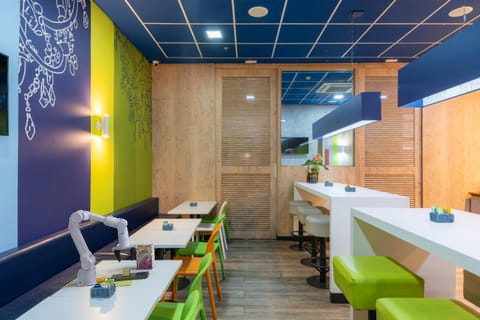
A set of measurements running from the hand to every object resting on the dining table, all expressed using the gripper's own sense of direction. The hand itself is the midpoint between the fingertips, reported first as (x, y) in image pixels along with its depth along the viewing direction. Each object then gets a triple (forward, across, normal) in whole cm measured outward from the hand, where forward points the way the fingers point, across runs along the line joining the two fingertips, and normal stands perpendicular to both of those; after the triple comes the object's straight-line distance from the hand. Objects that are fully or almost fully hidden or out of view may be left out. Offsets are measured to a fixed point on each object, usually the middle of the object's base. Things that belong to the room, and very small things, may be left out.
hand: (126, 260), depth 185 cm
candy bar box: (+12, -7, -16) cm, 21 cm away
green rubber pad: (+11, 0, +8) cm, 14 cm away
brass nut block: (+11, +1, 0) cm, 11 cm away
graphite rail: (+11, -1, 0) cm, 11 cm away
